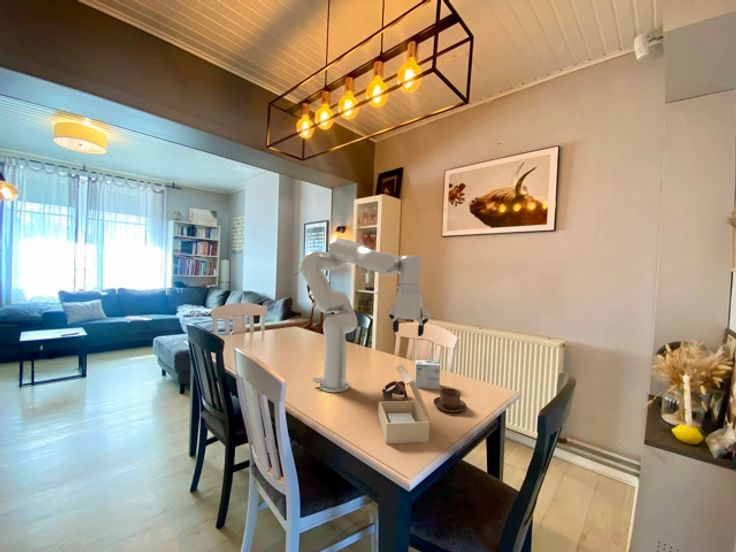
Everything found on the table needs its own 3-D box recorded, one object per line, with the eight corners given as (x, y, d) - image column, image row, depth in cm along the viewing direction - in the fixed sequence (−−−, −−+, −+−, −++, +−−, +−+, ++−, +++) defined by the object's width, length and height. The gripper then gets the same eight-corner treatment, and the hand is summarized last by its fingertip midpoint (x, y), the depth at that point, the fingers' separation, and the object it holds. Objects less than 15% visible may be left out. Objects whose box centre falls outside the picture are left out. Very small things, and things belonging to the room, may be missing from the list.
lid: (406, 383, 91) (414, 379, 91) (395, 367, 105) (402, 364, 106) (423, 423, 92) (431, 419, 92) (410, 402, 106) (417, 398, 107)
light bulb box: (437, 384, 140) (438, 360, 139) (439, 389, 133) (440, 365, 133) (414, 382, 141) (415, 359, 140) (414, 388, 134) (415, 363, 134)
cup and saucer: (462, 418, 108) (463, 401, 108) (429, 410, 114) (430, 393, 114) (468, 405, 119) (469, 390, 118) (438, 398, 124) (438, 383, 124)
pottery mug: (406, 409, 115) (396, 390, 114) (386, 414, 119) (376, 395, 119) (415, 390, 125) (405, 372, 125) (396, 395, 130) (386, 378, 129)
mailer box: (386, 443, 91) (386, 423, 90) (378, 418, 105) (378, 401, 105) (428, 442, 92) (429, 422, 92) (415, 417, 107) (415, 400, 107)
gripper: (384, 287, 116) (382, 332, 117) (429, 290, 108) (426, 339, 108) (392, 286, 123) (391, 329, 123) (435, 289, 114) (433, 335, 115)
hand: (407, 333), depth 116 cm, fingers open, 9 cm apart
